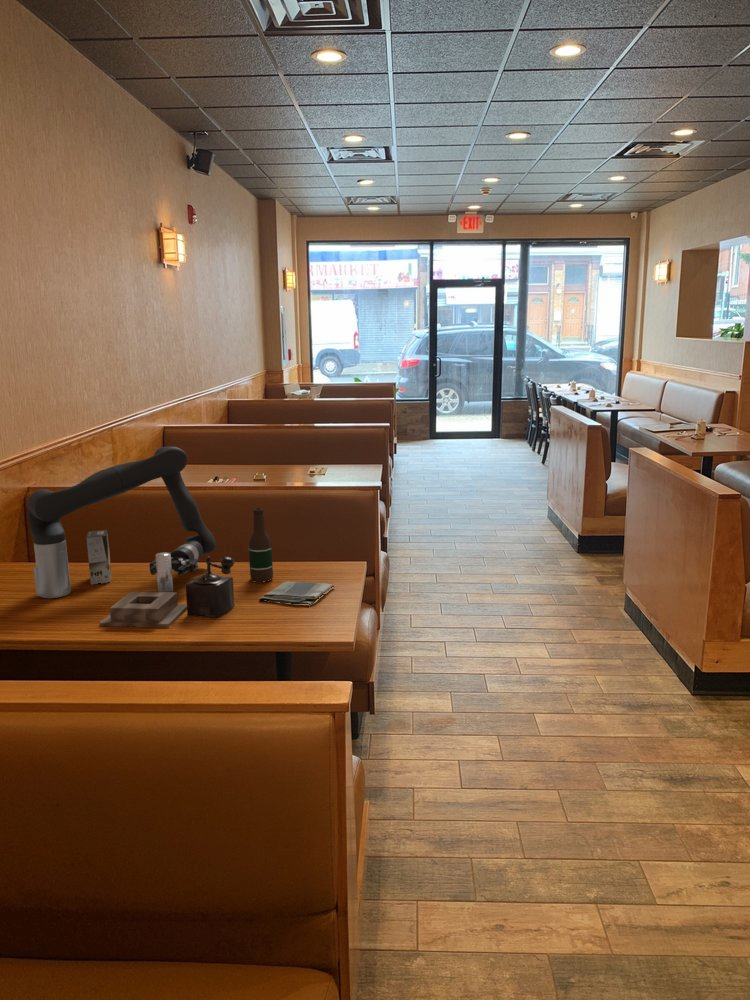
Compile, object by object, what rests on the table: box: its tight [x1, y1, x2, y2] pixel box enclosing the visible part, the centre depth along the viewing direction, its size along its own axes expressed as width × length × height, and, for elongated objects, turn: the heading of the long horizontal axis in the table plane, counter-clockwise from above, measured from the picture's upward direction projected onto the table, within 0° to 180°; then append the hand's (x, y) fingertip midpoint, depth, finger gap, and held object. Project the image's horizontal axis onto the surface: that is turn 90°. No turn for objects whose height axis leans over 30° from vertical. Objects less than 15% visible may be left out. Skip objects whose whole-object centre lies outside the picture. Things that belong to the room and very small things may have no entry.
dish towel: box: [258, 580, 335, 606], centre depth 234 cm, size 19×18×3 cm
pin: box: [155, 551, 174, 592], centre depth 232 cm, size 4×4×14 cm
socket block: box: [99, 591, 187, 628], centre depth 218 cm, size 20×16×5 cm
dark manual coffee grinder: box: [185, 555, 235, 618], centre depth 219 cm, size 16×11×18 cm
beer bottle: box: [248, 507, 274, 583], centre depth 248 cm, size 8×8×24 cm
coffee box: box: [85, 529, 112, 585], centre depth 252 cm, size 9×6×16 cm
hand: (165, 572), depth 233 cm, fingers open, 8 cm apart
